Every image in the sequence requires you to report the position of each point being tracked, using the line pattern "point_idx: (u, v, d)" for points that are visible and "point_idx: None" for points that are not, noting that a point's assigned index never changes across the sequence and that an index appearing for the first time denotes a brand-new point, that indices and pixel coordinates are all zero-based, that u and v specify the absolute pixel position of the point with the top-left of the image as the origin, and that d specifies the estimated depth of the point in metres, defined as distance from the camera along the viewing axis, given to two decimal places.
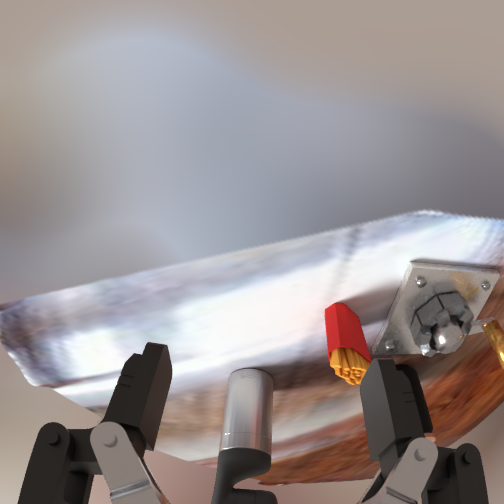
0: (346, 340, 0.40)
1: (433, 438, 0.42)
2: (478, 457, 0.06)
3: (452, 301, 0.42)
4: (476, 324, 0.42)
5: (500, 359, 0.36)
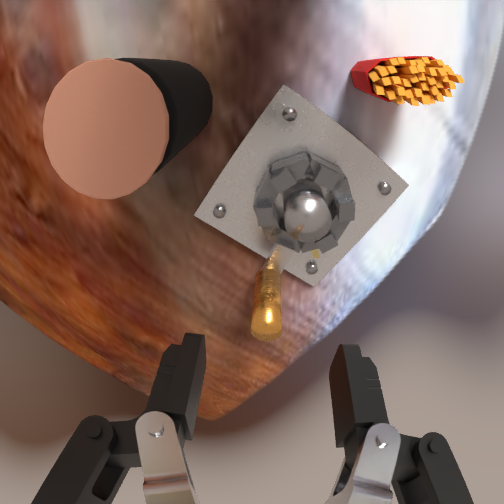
0: None
1: (118, 194, 0.21)
2: (446, 444, 0.07)
3: None
4: None
5: (271, 310, 0.32)
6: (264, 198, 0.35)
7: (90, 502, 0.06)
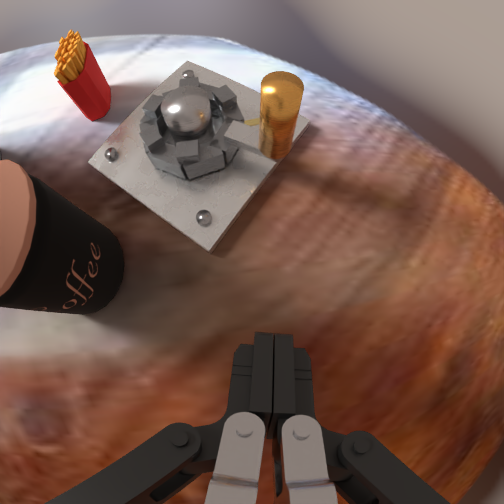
0: None
1: (25, 209, 0.16)
2: (373, 438, 0.08)
3: None
4: None
5: None
6: (173, 156, 0.31)
7: (142, 502, 0.06)
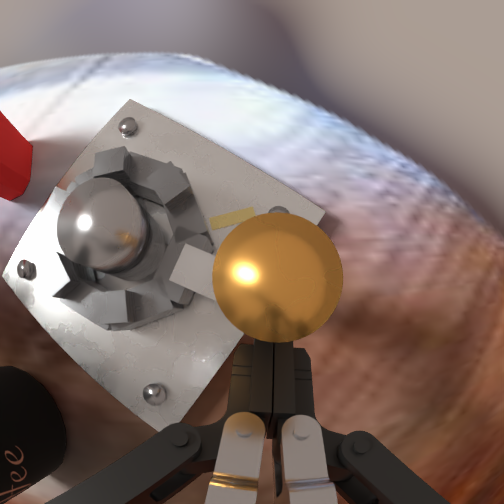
0: None
1: None
2: (373, 438, 0.08)
3: None
4: (204, 252, 0.17)
5: None
6: None
7: (142, 502, 0.06)
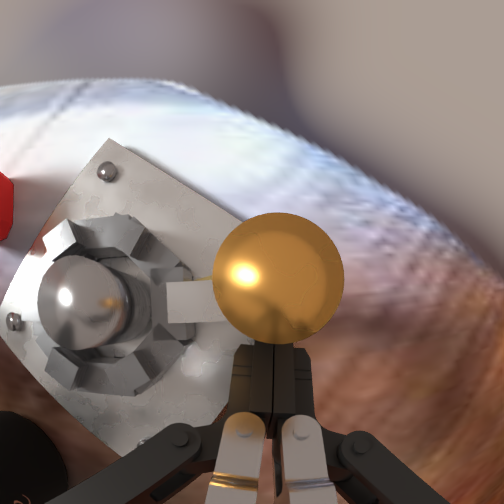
0: None
1: None
2: (373, 438, 0.08)
3: None
4: None
5: None
6: None
7: (142, 502, 0.06)
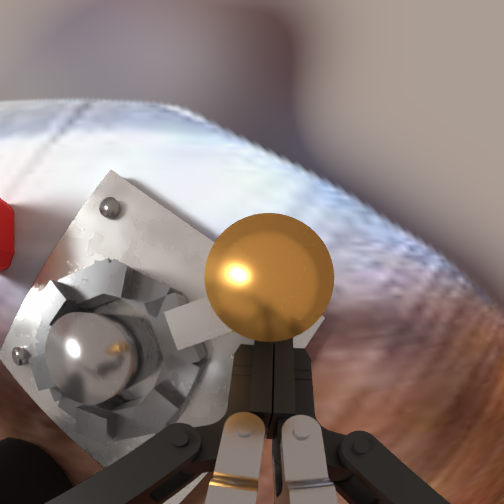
0: None
1: None
2: (373, 438, 0.08)
3: None
4: (184, 305, 0.17)
5: None
6: None
7: (142, 502, 0.06)
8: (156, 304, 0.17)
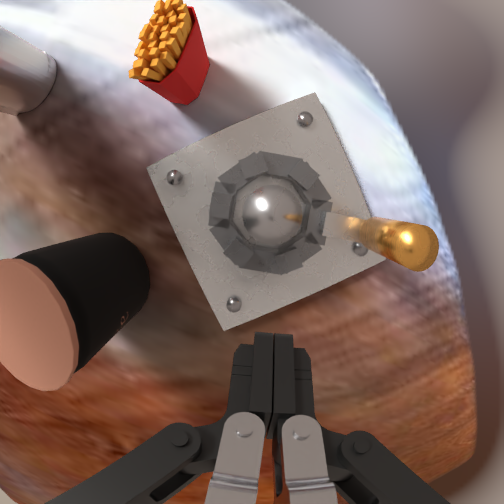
0: None
1: (70, 360, 0.18)
2: (373, 438, 0.08)
3: None
4: (338, 214, 0.28)
5: (392, 244, 0.20)
6: (270, 264, 0.30)
7: (142, 502, 0.06)
8: (319, 202, 0.29)
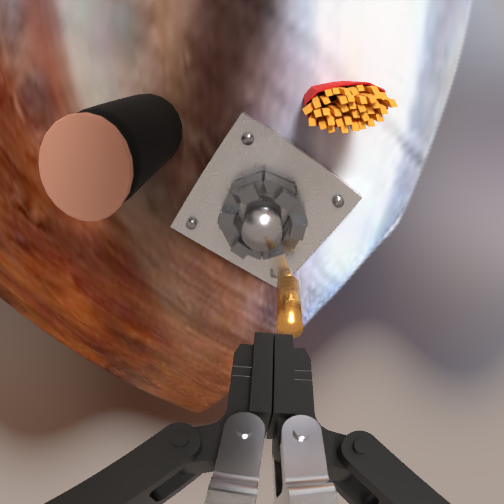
0: None
1: (98, 217, 0.27)
2: (373, 438, 0.08)
3: (302, 205, 0.40)
4: (286, 259, 0.43)
5: (283, 313, 0.38)
6: (232, 238, 0.42)
7: (142, 502, 0.06)
8: (286, 244, 0.42)
